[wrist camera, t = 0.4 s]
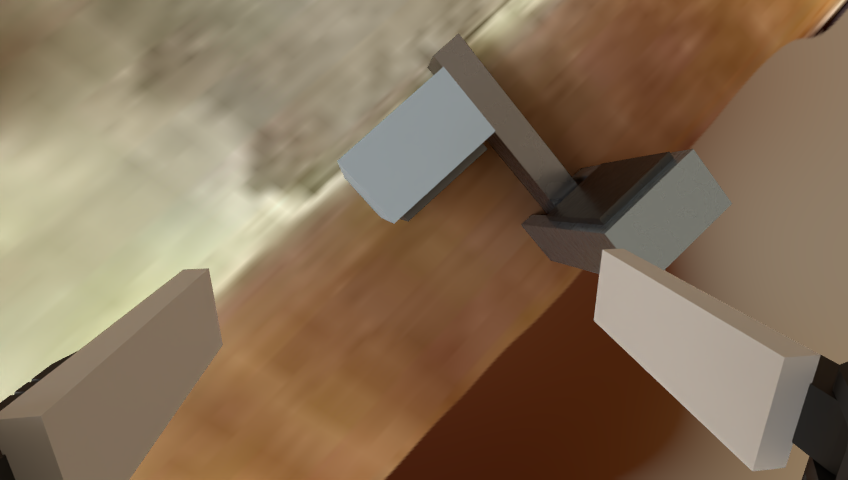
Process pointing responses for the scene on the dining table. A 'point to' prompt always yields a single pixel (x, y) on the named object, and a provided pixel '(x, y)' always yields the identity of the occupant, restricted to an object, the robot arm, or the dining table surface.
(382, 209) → the tall grey-blue pillar
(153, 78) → the dining table surface
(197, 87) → the dining table surface
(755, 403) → the robot arm
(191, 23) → the dining table surface
